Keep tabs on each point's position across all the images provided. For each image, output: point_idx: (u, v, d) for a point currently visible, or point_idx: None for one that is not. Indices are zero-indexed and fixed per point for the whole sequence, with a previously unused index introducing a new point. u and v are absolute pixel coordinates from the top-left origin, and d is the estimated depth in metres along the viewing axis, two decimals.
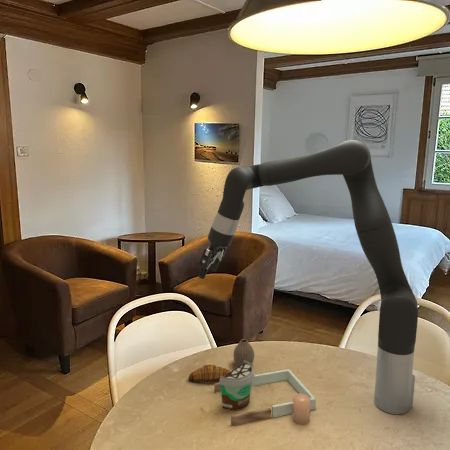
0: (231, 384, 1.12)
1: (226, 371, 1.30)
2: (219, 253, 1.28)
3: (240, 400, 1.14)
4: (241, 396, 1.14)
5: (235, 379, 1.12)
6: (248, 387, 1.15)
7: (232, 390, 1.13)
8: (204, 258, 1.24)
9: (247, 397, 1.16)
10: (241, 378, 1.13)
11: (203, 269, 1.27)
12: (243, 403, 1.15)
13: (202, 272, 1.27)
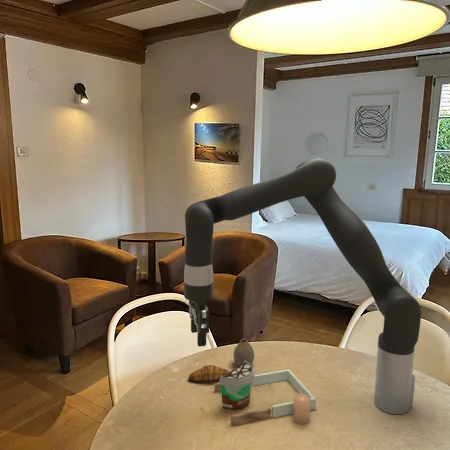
0: (231, 384, 1.12)
1: (226, 371, 1.30)
2: (206, 308, 1.09)
3: (240, 400, 1.14)
4: (241, 396, 1.14)
5: (235, 379, 1.12)
6: (248, 387, 1.15)
7: (232, 390, 1.13)
8: (203, 322, 1.03)
9: (247, 397, 1.16)
10: (241, 378, 1.13)
11: (203, 335, 1.06)
12: (243, 403, 1.15)
13: (203, 338, 1.06)
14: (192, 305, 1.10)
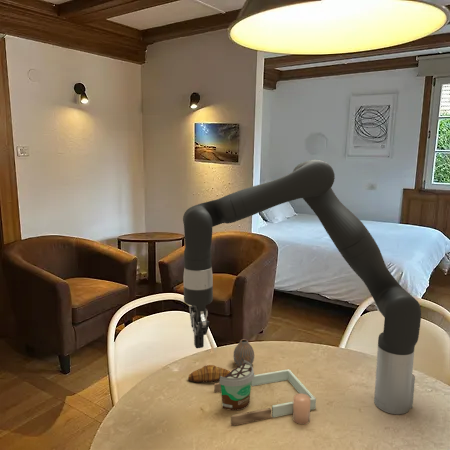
0: (231, 384, 1.12)
1: (226, 371, 1.30)
2: None
3: (240, 400, 1.14)
4: (241, 396, 1.14)
5: (235, 379, 1.12)
6: (248, 387, 1.15)
7: (232, 390, 1.13)
8: (202, 330, 1.05)
9: (247, 397, 1.16)
10: (241, 378, 1.13)
11: (200, 337, 1.09)
12: (243, 403, 1.15)
13: (201, 340, 1.09)
14: (192, 308, 1.09)
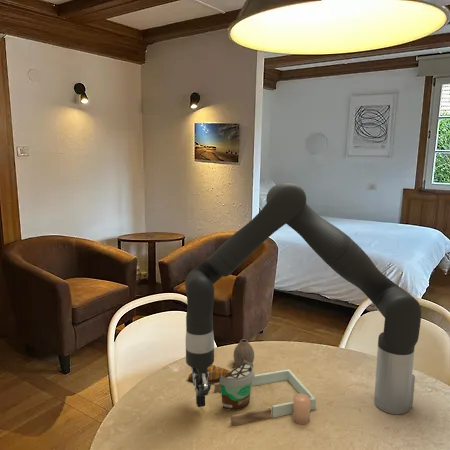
0: (231, 384, 1.12)
1: (226, 371, 1.30)
2: None
3: (240, 400, 1.14)
4: (241, 396, 1.14)
5: (235, 379, 1.12)
6: (248, 387, 1.15)
7: (232, 390, 1.13)
8: (204, 392, 1.08)
9: (247, 397, 1.16)
10: (241, 378, 1.13)
11: (202, 396, 1.12)
12: (243, 403, 1.15)
13: (202, 400, 1.12)
14: (194, 368, 1.12)
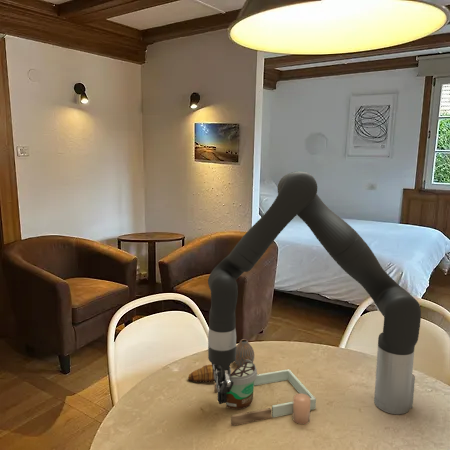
0: (236, 383, 1.12)
1: None
2: (230, 369, 1.13)
3: (244, 399, 1.15)
4: (245, 395, 1.14)
5: (240, 378, 1.12)
6: (252, 385, 1.16)
7: (237, 389, 1.13)
8: (226, 389, 1.10)
9: (251, 395, 1.16)
10: (245, 377, 1.13)
11: (224, 393, 1.13)
12: (247, 402, 1.16)
13: (224, 397, 1.13)
14: (215, 365, 1.14)
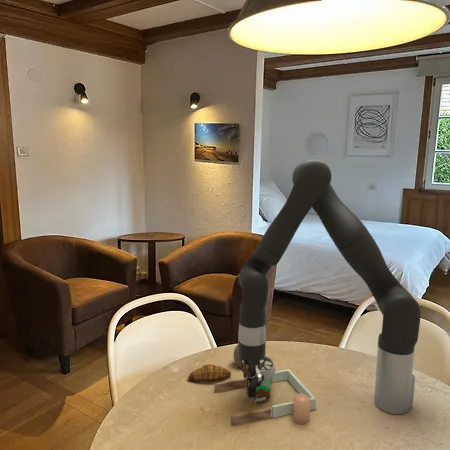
0: (268, 375, 1.16)
1: (226, 371, 1.30)
2: (259, 364, 1.15)
3: (270, 389, 1.19)
4: (270, 385, 1.19)
5: (269, 370, 1.16)
6: None
7: (267, 381, 1.17)
8: (257, 383, 1.12)
9: None
10: (272, 367, 1.18)
11: (253, 388, 1.16)
12: (270, 391, 1.20)
13: (254, 391, 1.16)
14: (245, 360, 1.16)
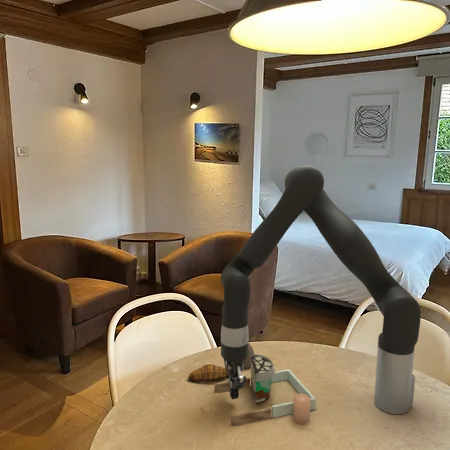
0: (267, 377, 1.15)
1: None
2: (242, 365, 1.14)
3: (269, 390, 1.19)
4: (270, 386, 1.19)
5: (269, 371, 1.16)
6: None
7: (266, 382, 1.16)
8: (239, 384, 1.11)
9: None
10: (271, 368, 1.18)
11: (236, 389, 1.15)
12: None
13: (236, 392, 1.15)
14: (228, 361, 1.15)
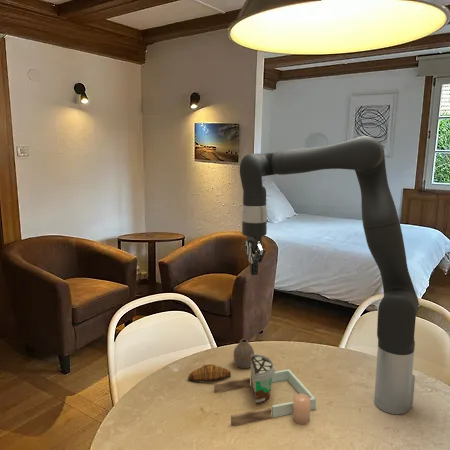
0: (267, 377, 1.15)
1: (226, 371, 1.30)
2: None
3: (269, 390, 1.19)
4: (270, 386, 1.19)
5: (269, 371, 1.16)
6: None
7: (266, 382, 1.16)
8: (259, 257, 1.25)
9: None
10: (272, 368, 1.18)
11: (256, 265, 1.29)
12: None
13: (256, 268, 1.29)
14: (248, 240, 1.29)
